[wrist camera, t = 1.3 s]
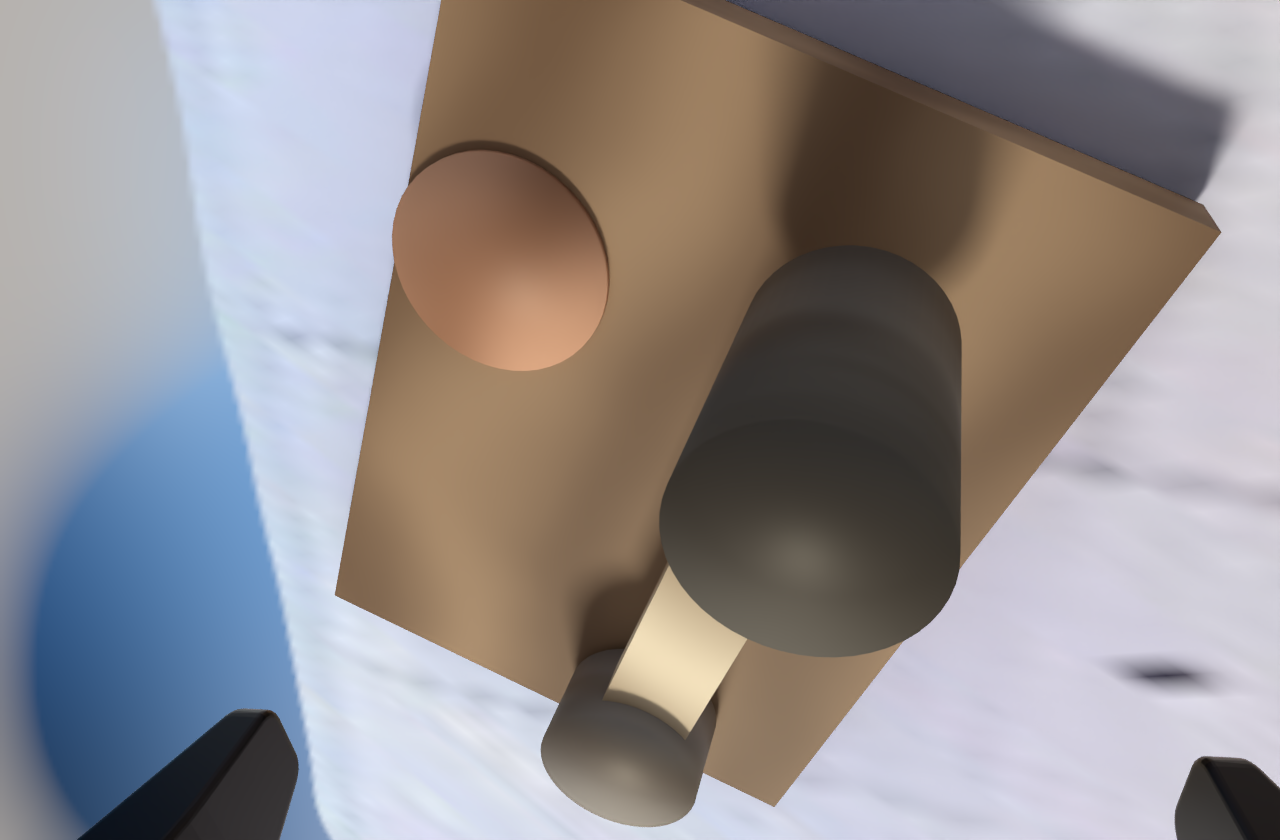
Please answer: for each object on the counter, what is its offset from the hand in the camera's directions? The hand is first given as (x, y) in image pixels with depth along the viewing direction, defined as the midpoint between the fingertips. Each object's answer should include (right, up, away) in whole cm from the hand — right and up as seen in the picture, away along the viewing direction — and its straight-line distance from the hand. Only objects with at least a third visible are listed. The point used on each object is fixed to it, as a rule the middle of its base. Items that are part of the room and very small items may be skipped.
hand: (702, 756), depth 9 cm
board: (0, +3, +15) cm, 15 cm away
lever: (+2, 0, +14) cm, 14 cm away
